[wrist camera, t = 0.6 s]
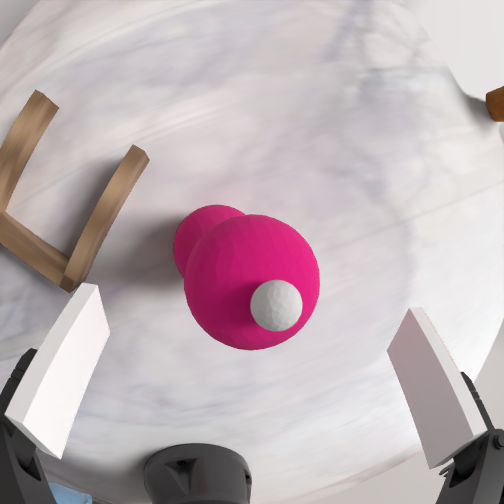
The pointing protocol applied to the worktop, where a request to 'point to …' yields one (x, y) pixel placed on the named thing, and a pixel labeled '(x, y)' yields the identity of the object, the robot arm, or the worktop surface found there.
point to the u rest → (77, 267)
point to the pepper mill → (246, 276)
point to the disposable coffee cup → (496, 104)
